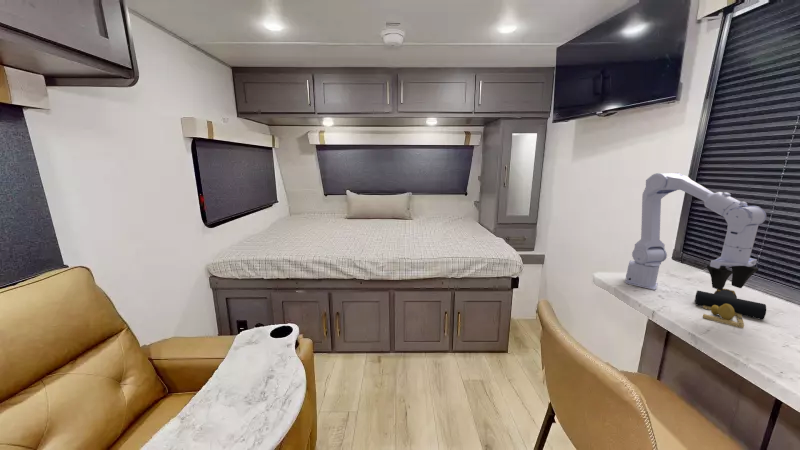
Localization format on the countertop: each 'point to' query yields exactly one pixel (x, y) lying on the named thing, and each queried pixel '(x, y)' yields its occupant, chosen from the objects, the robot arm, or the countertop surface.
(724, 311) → the knob
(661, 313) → the countertop surface
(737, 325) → the u-shaped bracket
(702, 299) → the pipe connector
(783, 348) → the countertop surface
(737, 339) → the countertop surface
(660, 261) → the robot arm
